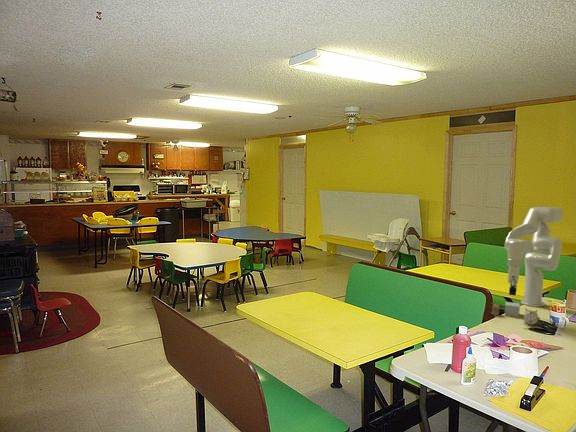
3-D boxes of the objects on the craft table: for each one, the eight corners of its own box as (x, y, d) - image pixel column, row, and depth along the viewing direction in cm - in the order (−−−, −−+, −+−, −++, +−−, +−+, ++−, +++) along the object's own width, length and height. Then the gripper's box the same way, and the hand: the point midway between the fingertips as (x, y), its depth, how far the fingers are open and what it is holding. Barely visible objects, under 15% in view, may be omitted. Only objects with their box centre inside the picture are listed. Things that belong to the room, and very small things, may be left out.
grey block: (505, 312, 241) (505, 301, 240) (519, 314, 238) (519, 303, 237) (504, 315, 235) (505, 304, 234) (518, 317, 231) (519, 306, 231)
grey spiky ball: (532, 331, 221) (545, 316, 220) (532, 330, 214) (545, 315, 213) (516, 319, 226) (529, 305, 225) (516, 318, 219) (528, 303, 218)
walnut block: (489, 312, 241) (489, 303, 240) (498, 313, 238) (499, 304, 238) (488, 314, 236) (488, 305, 236) (498, 315, 234) (498, 307, 233)
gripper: (507, 259, 243) (506, 289, 244) (506, 264, 228) (504, 295, 229) (522, 261, 239) (520, 290, 240) (522, 266, 224) (520, 297, 225)
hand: (512, 293), depth 235 cm, fingers open, 9 cm apart
